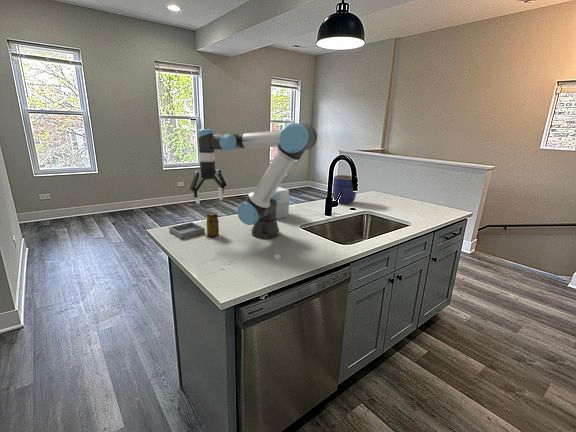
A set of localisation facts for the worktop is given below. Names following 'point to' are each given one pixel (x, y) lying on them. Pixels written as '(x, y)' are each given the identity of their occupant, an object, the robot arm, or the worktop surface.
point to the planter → (343, 189)
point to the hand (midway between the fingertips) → (209, 201)
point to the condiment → (212, 226)
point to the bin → (186, 230)
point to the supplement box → (282, 202)
